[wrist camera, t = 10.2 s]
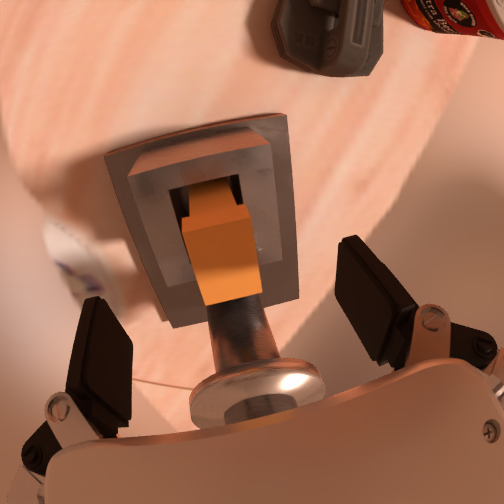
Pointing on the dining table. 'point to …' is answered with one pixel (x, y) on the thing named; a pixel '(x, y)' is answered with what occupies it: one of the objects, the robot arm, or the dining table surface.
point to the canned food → (459, 16)
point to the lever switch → (181, 271)
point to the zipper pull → (330, 35)
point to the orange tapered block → (220, 243)
